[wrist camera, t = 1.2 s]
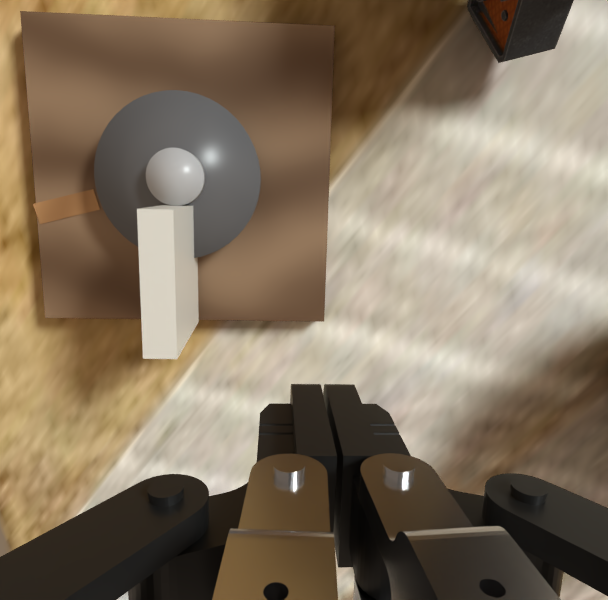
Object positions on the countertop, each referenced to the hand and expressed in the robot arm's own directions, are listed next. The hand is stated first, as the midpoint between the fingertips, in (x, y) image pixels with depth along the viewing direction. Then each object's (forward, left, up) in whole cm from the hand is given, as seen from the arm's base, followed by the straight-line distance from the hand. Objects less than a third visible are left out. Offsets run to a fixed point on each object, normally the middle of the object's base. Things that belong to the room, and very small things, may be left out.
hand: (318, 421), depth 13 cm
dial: (-4, -6, -19) cm, 20 cm away
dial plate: (-6, -6, -21) cm, 23 cm away
